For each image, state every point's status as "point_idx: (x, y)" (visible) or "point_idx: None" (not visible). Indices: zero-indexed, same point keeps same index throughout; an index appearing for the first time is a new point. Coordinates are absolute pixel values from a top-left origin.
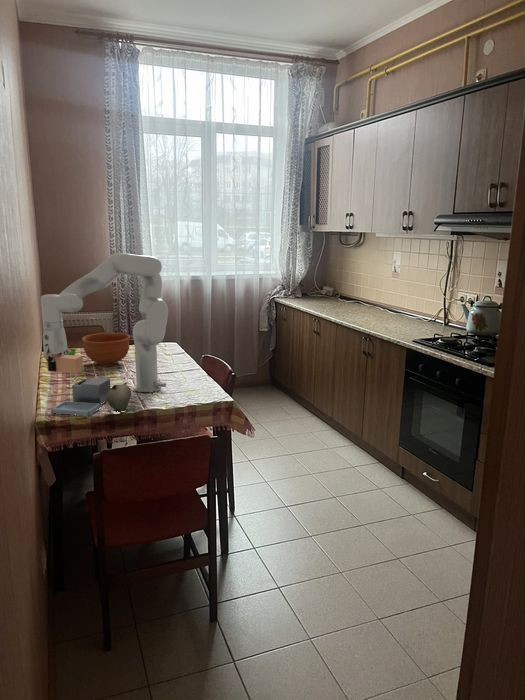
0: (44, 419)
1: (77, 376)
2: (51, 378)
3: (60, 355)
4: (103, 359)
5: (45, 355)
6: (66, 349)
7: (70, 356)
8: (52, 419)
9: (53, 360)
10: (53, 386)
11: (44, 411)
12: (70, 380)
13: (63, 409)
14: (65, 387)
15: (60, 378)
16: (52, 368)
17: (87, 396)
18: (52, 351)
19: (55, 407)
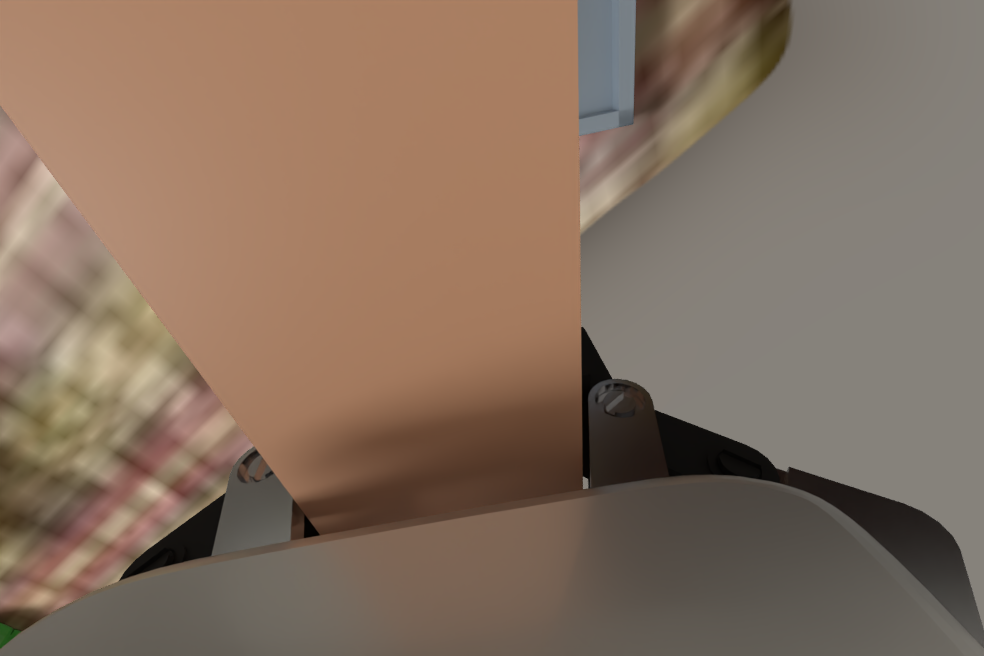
0: (726, 79)
1: (38, 469)
2: (179, 520)
3: (375, 484)
4: None
5: (948, 540)
6: (76, 620)
7: (280, 182)
8: (723, 17)
9: (612, 408)
10: (248, 444)
11: (590, 198)
12: (114, 450)
13: (627, 7)
14: (210, 394)
15: (142, 498)
16: (585, 332)
17: None
18: (950, 619)
19: (600, 114)
